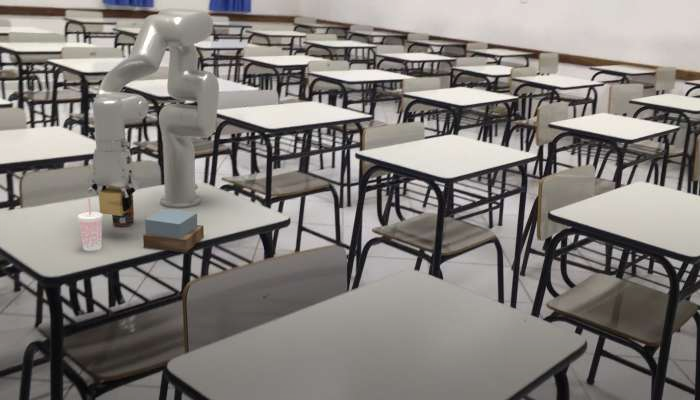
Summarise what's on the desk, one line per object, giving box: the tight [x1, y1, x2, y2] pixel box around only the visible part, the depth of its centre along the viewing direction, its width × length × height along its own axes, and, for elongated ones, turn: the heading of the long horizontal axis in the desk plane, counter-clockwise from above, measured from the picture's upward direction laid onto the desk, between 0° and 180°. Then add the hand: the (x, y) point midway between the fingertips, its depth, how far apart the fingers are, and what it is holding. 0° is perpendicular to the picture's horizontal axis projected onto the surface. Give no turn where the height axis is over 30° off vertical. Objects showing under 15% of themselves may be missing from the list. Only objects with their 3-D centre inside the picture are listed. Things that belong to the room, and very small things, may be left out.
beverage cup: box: [77, 196, 104, 252], centre depth 180 cm, size 6×6×14 cm
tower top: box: [144, 208, 198, 239], centre depth 187 cm, size 10×10×4 cm
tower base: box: [142, 224, 205, 254], centre depth 188 cm, size 12×12×4 cm
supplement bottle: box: [111, 193, 135, 227], centre depth 200 cm, size 6×6×11 cm
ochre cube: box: [98, 186, 131, 216], centre depth 189 cm, size 6×6×6 cm
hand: (115, 208), depth 190 cm, fingers closed on ochre cube, 6 cm apart
